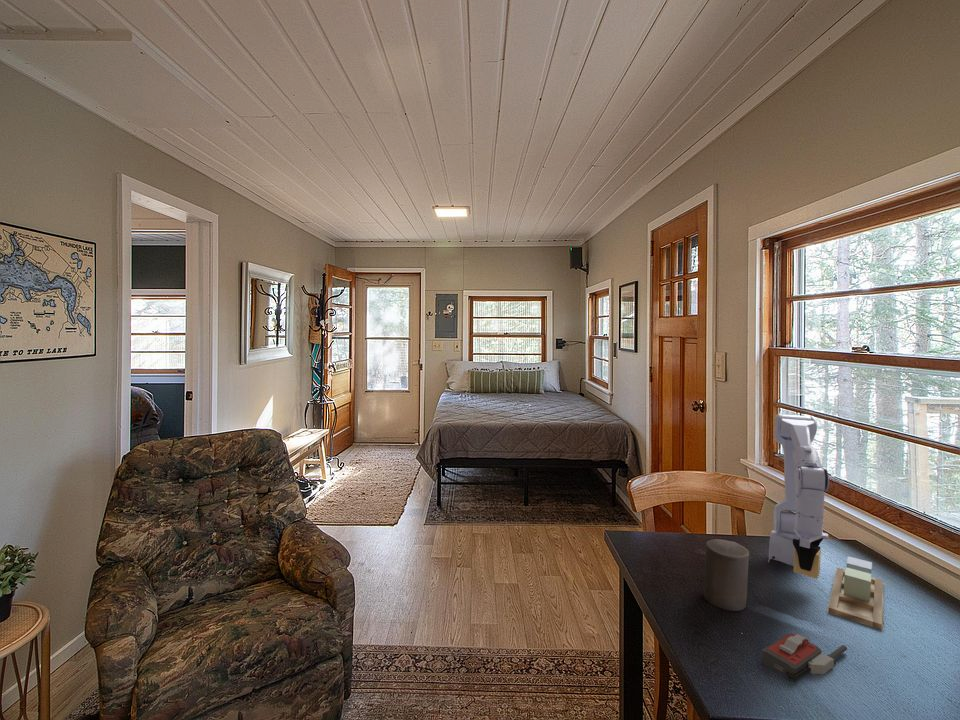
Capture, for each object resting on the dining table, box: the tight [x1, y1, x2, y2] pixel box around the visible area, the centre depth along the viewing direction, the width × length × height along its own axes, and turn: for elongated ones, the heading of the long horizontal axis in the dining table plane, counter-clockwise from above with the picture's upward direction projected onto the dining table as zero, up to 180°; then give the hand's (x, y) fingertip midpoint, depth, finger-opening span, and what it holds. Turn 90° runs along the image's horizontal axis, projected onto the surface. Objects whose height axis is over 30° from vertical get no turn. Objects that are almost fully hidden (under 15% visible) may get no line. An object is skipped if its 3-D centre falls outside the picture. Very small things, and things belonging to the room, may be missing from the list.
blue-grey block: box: [846, 556, 873, 575], centre depth 121 cm, size 5×5×6 cm
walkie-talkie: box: [761, 632, 848, 681], centre depth 95 cm, size 9×4×20 cm
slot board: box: [826, 567, 884, 631], centre depth 115 cm, size 10×26×3 cm, turn 138°
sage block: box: [844, 566, 872, 602], centre depth 115 cm, size 5×5×6 cm
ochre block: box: [793, 548, 822, 580], centre depth 118 cm, size 5×5×6 cm
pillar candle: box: [702, 538, 750, 612], centre depth 116 cm, size 10×10×15 cm
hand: (806, 565), depth 118 cm, fingers closed on ochre block, 5 cm apart
